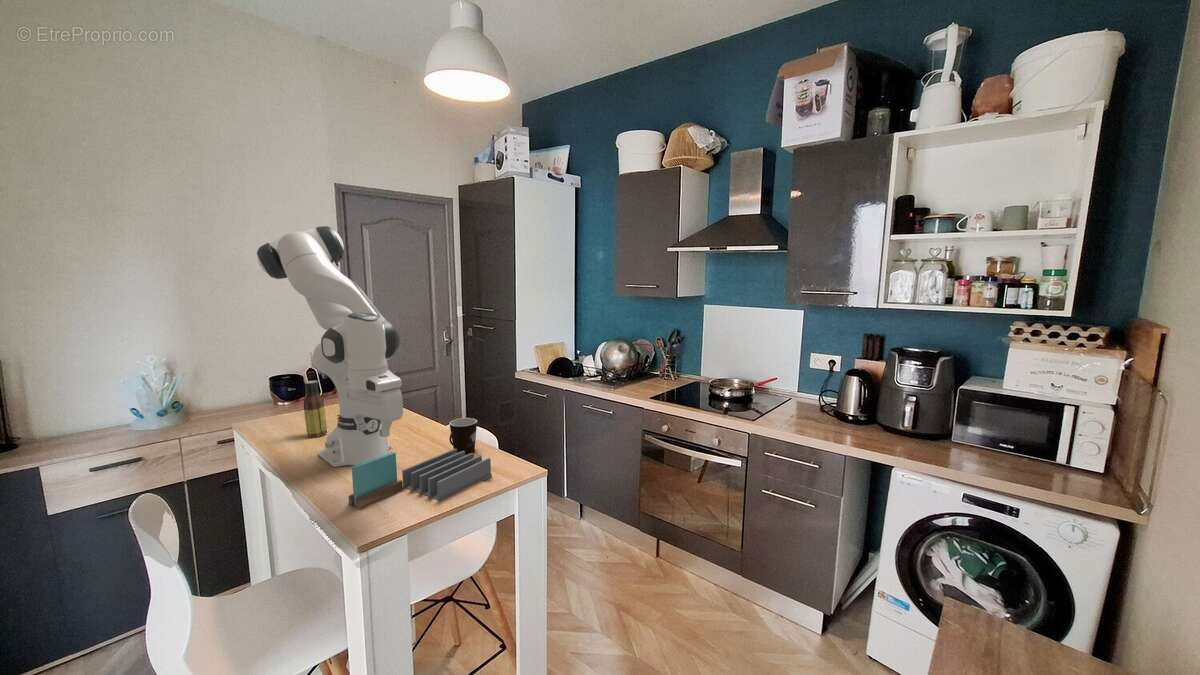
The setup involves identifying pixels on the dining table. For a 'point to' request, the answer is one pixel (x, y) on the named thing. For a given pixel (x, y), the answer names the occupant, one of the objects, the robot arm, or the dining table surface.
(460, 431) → the coffee mug
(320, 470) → the dining table surface
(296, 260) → the robot arm
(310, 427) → the sauce bottle
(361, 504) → the stand
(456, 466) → the rack
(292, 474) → the dining table surface
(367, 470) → the plate
